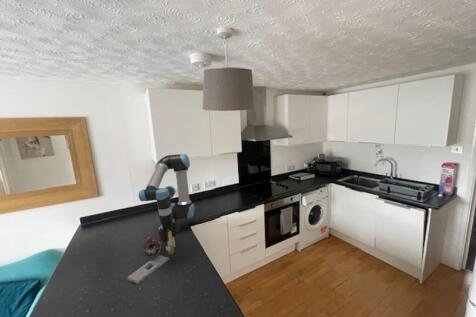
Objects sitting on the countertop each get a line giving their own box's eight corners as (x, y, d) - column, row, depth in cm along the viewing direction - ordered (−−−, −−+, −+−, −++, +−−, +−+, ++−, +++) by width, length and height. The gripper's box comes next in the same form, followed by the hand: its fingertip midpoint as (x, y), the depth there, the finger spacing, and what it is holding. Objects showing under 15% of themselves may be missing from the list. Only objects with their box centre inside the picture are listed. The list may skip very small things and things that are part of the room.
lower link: (159, 256, 134) (159, 255, 134) (169, 259, 130) (168, 258, 130) (139, 271, 121) (139, 270, 121) (149, 275, 117) (149, 274, 117)
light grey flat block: (150, 263, 128) (149, 260, 128) (160, 266, 124) (159, 263, 123) (127, 280, 114) (127, 277, 114) (138, 284, 110) (137, 281, 110)
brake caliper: (140, 255, 133) (141, 237, 139) (145, 257, 142) (146, 239, 148) (158, 252, 135) (158, 234, 141) (162, 253, 144) (162, 236, 150)
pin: (171, 250, 129) (168, 228, 127) (175, 251, 127) (172, 229, 125) (167, 253, 126) (163, 231, 123) (171, 254, 124) (168, 232, 122)
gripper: (171, 207, 131) (175, 239, 135) (150, 218, 117) (156, 254, 121) (179, 208, 128) (184, 241, 132) (159, 220, 113) (165, 257, 117)
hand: (170, 247), depth 126 cm, fingers closed on pin, 3 cm apart
